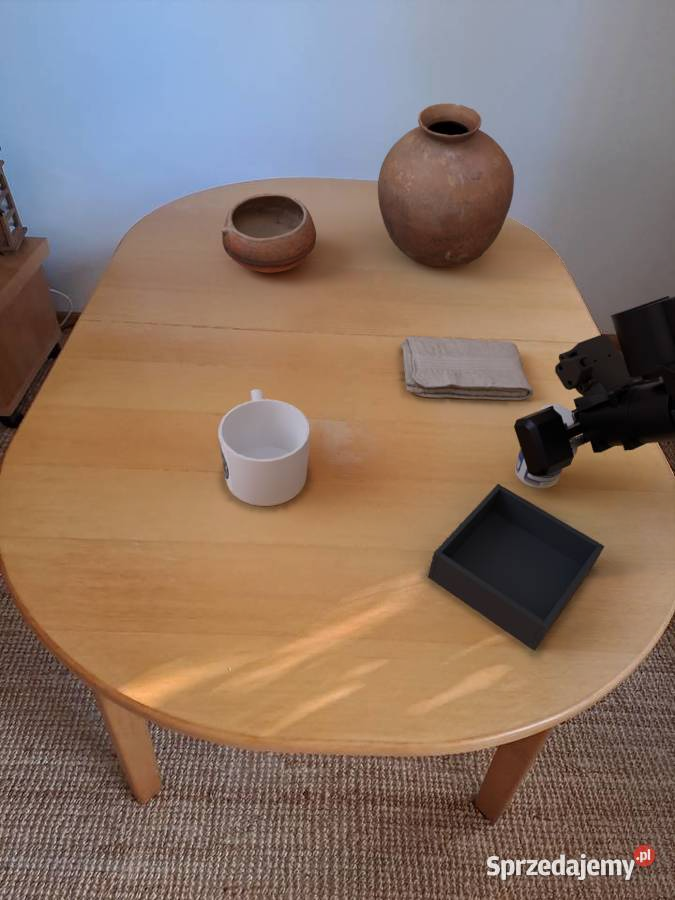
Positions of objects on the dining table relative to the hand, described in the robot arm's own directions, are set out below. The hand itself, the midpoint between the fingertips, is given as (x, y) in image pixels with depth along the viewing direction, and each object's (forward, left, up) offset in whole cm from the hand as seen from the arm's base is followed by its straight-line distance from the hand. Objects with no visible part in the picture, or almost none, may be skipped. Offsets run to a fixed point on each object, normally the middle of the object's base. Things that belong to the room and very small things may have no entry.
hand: (542, 428), depth 79 cm
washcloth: (+17, -12, -8) cm, 22 cm away
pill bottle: (-1, 0, -7) cm, 7 cm away
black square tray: (-6, +14, -8) cm, 18 cm away
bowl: (+59, -15, -8) cm, 61 cm away
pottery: (+40, -38, -8) cm, 55 cm away
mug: (+25, +21, -8) cm, 34 cm away
